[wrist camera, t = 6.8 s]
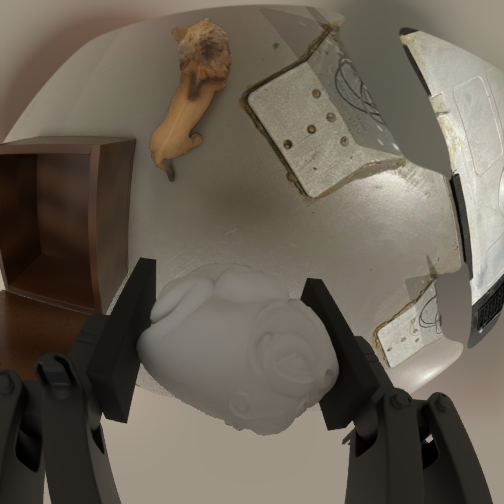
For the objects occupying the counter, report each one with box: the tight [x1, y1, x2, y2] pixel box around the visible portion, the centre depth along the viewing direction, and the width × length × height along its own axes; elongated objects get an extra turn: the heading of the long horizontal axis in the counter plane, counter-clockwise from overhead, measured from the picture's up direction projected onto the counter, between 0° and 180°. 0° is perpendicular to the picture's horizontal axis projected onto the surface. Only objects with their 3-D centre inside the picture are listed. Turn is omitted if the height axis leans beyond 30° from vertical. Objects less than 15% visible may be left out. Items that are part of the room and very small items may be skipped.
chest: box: [0, 136, 136, 315], centre depth 22 cm, size 16×14×9 cm
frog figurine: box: [136, 263, 339, 436], centre depth 10 cm, size 6×7×7 cm
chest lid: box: [0, 290, 91, 381], centre depth 13 cm, size 16×14×6 cm
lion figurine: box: [149, 18, 231, 182], centre depth 19 cm, size 15×5×9 cm, turn 164°
